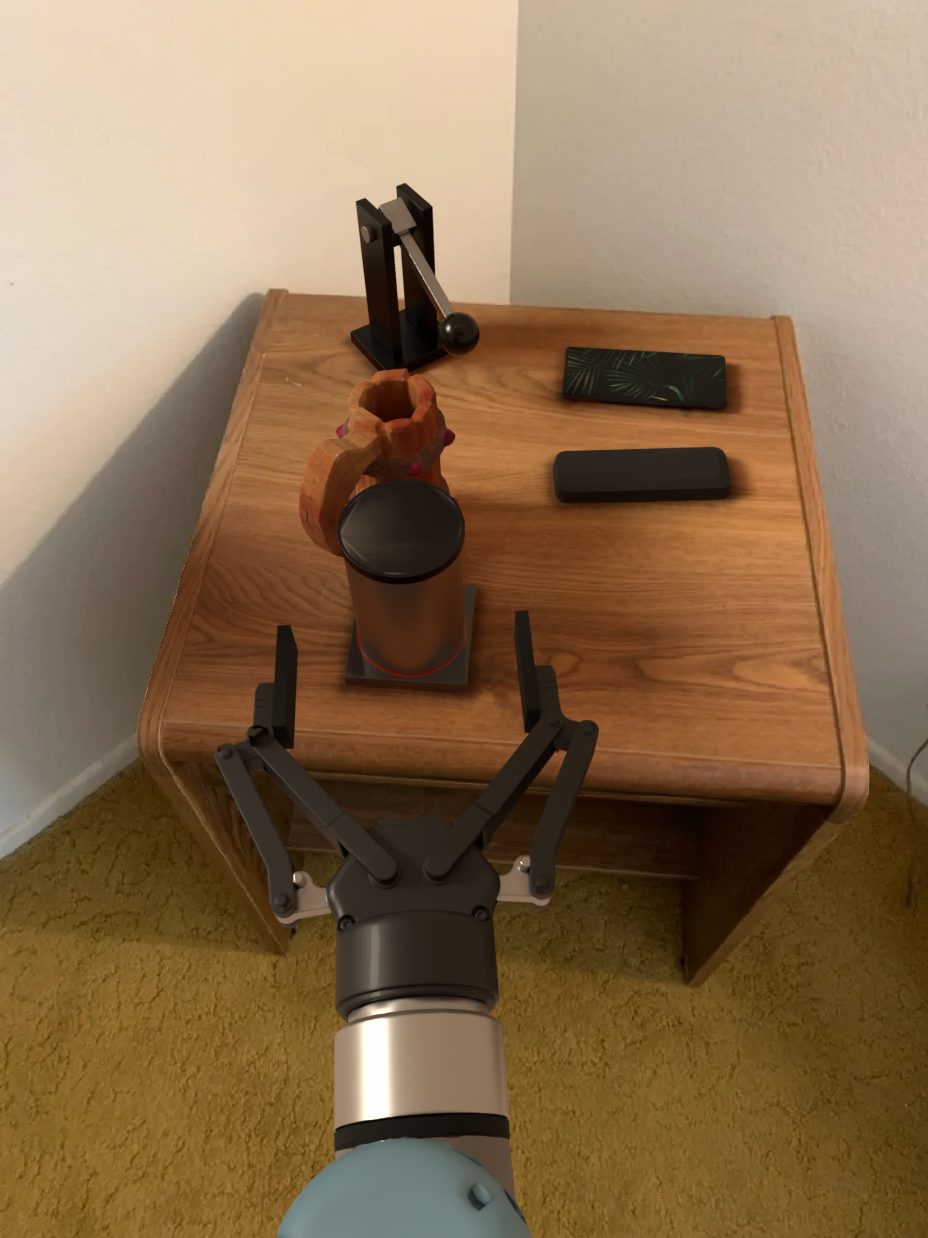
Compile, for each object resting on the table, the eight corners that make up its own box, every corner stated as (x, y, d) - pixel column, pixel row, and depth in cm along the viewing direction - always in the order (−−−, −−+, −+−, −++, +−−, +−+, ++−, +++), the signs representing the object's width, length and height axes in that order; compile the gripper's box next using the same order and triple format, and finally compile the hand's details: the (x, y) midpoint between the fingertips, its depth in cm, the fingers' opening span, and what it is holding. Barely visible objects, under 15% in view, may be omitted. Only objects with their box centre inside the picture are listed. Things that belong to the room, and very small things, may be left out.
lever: (480, 353, 81) (492, 334, 78) (446, 369, 80) (456, 350, 76) (401, 214, 81) (409, 189, 78) (365, 228, 80) (372, 203, 77)
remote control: (555, 507, 79) (733, 498, 78) (556, 493, 77) (737, 483, 77) (551, 465, 81) (722, 455, 81) (551, 450, 80) (726, 441, 79)
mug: (398, 473, 80) (384, 331, 68) (476, 513, 78) (476, 373, 65) (288, 585, 74) (250, 450, 61) (369, 633, 71) (347, 502, 58)
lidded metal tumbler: (349, 673, 67) (328, 574, 58) (363, 582, 72) (346, 476, 62) (463, 679, 67) (461, 580, 57) (469, 587, 72) (468, 481, 62)
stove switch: (459, 350, 89) (456, 207, 77) (388, 381, 87) (374, 239, 75) (420, 312, 93) (412, 169, 80) (351, 341, 90) (331, 199, 78)
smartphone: (565, 344, 88) (725, 354, 87) (565, 353, 89) (723, 362, 88) (561, 393, 84) (728, 404, 83) (560, 402, 85) (726, 412, 84)
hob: (345, 685, 68) (343, 676, 67) (362, 587, 73) (361, 578, 72) (466, 693, 68) (466, 684, 67) (475, 594, 73) (475, 584, 72)
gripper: (164, 1053, 45) (205, 677, 57) (676, 1016, 45) (609, 652, 57) (114, 1021, 38) (172, 606, 51) (707, 978, 39) (625, 579, 51)
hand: (404, 630), depth 54 cm, fingers open, 13 cm apart
